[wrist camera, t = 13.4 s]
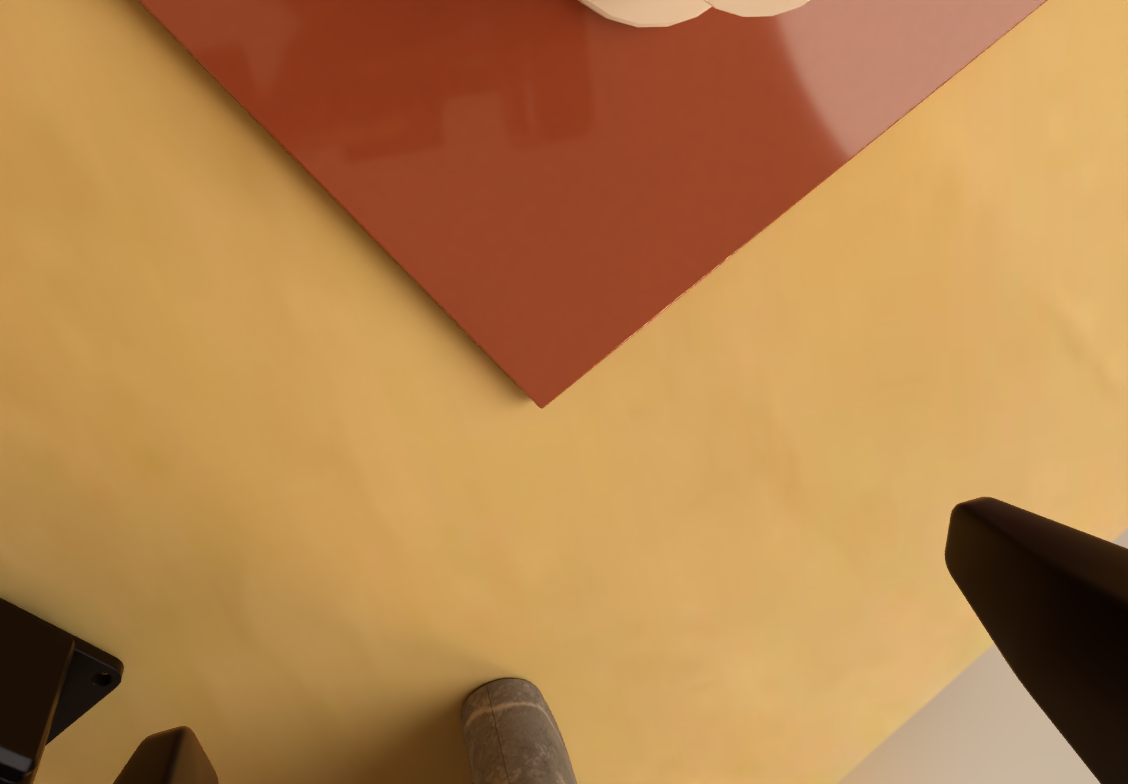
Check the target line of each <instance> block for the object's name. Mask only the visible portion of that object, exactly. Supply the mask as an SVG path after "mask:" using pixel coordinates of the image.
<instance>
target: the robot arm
mask: <svg viewBox="0 0 1128 784" xmlns="http://www.w3.org/2000/svg"><path fill="white" fill-rule="evenodd" d="M945 562H946V565H947V568H948V570H949V572H950V574H951V576H952V578H953V579H954V581H955V582H956V584H957V585H958V587H959V589H960V590H961V592H962V593H963V595H964V596H965V598H966V599H967V601H968V602H969V604H970V606H971V607H972V609H973V610H974V612H975V613H976V615H977V616H978V618H979V620H980V621H981V623H982V624H983V626H984V627H985V629H986V630H987V632H988V633H989V635H990V637H991V638H992V640H993V641H994V643H995V644H996V646H997V647H998V649H999V651H1000V652H1001V654H1002V655H1003V657H1004V658H1005V660H1006V661H1007V663H1008V664H1009V666H1010V667H1011V669H1012V670H1013V672H1014V673H1015V674H1016V676H1017V677H1018V679H1019V680H1020V681H1021V683H1022V684H1023V686H1024V687H1025V688H1026V690H1027V691H1028V692H1029V694H1030V695H1031V696H1032V697H1033V699H1034V700H1035V701H1036V703H1037V704H1038V705H1039V706H1040V708H1041V709H1042V710H1043V711H1044V712H1045V714H1046V715H1047V716H1048V718H1049V719H1050V720H1051V721H1052V723H1053V724H1054V725H1055V726H1056V728H1057V729H1058V730H1059V732H1060V733H1061V734H1062V735H1063V737H1064V738H1065V739H1066V740H1067V742H1068V743H1069V744H1070V745H1071V746H1072V748H1073V749H1074V750H1075V752H1076V753H1077V754H1078V756H1079V757H1080V758H1081V759H1082V760H1083V762H1084V763H1085V764H1086V766H1087V767H1088V768H1089V769H1090V771H1091V772H1092V773H1093V774H1094V776H1095V777H1096V778H1097V779H1098V781H1099V782H1100V783H1101V784H1128V549H1127V548H1124V547H1121V546H1119V545H1116V544H1114V543H1111V542H1108V541H1106V540H1103V539H1100V538H1098V537H1095V536H1092V535H1090V534H1087V533H1085V532H1082V531H1079V530H1077V529H1074V528H1071V527H1069V526H1066V525H1063V524H1061V523H1058V522H1055V521H1053V520H1050V519H1047V518H1045V517H1042V516H1040V515H1037V514H1034V513H1032V512H1029V511H1026V510H1024V509H1021V508H1018V507H1016V506H1013V505H1010V504H1008V503H1005V502H1003V501H1000V500H997V499H994V498H991V497H980V498H976V499H973V500H969V501H966V502H963V503H959V504H957V505H956V506H955V507H954V509H953V510H952V512H951V517H950V523H949V529H948V535H947V541H946V548H945ZM123 669H124V666H123V663H122V662H121V661H120V660H119V659H118V658H116V657H114V656H112V655H110V654H108V653H106V652H104V651H102V650H100V649H99V648H97V647H95V646H93V645H91V644H89V643H87V642H85V641H83V640H81V639H79V638H77V637H75V636H73V635H71V634H69V633H67V632H66V631H64V630H62V629H60V628H58V627H56V626H54V625H52V624H50V623H48V622H46V621H44V620H42V619H40V618H38V617H36V616H34V615H32V614H31V613H29V612H27V611H25V610H23V609H21V608H19V607H17V606H15V605H13V604H11V603H9V602H7V601H5V600H3V599H1V598H0V784H33V782H34V779H35V776H36V773H37V770H38V767H39V763H40V760H41V757H42V754H43V751H44V748H45V745H47V744H48V743H49V742H50V741H52V740H53V739H54V738H55V737H56V736H58V735H59V734H60V733H61V732H63V731H64V730H65V729H66V728H67V727H69V726H70V725H71V724H72V723H73V722H75V721H76V720H77V719H78V718H80V717H81V716H82V715H83V714H84V713H86V712H87V711H88V710H89V709H90V708H92V707H93V706H94V705H95V704H97V703H98V702H99V701H100V700H101V699H103V698H104V697H105V696H106V695H107V694H109V693H110V692H111V691H112V690H114V689H115V688H116V687H117V686H118V685H119V684H120V682H121V678H122V674H123ZM101 672H103V673H107V675H101V674H98V673H101ZM113 784H219V783H218V778H217V775H216V772H215V770H214V768H213V766H212V765H211V763H210V761H209V759H208V757H207V756H206V754H205V752H204V750H203V748H202V747H201V745H200V743H199V741H198V739H197V737H196V736H195V734H194V732H193V731H192V730H191V729H190V728H189V727H186V726H180V727H176V728H173V729H169V730H166V731H162V732H159V733H155V734H152V735H150V736H148V737H147V738H145V739H144V740H143V741H142V742H141V744H140V745H139V746H138V748H137V749H136V751H135V752H134V754H133V755H132V757H131V758H130V760H129V761H128V763H127V764H126V765H125V767H124V768H123V770H122V771H121V773H120V774H119V776H118V777H117V779H116V780H115V782H114V783H113Z"/></svg>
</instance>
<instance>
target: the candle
mask: <svg viewBox="0 0 1128 784" xmlns="http://www.w3.org/2000/svg"><path fill="white" fill-rule="evenodd" d="M578 1H579V2H581V3H582V4H584V5H585V6H587V7H589V8H590V9H592V10H593V11H595V12H596V13H598V14H599V15H601V16H603V17H604V18H607V19H610V20H614V21H617V22H621V23H624V24H628V25H631V26H635V27H668V26H671V25H674V24H677V23H680V22H683V21H686V20H689V19H692V18H695V17H697V16H699V15H700V14H702V13H703V12H705V11H706V10H708V9H709V8H711V7H714V8H715V9H719V10H722V11H725V12H729V13H732V14H735V15H739V16H742V17H760V16H774V15H777V14H780V13H783V12H786V11H789V10H792V9H795V8H798V7H801V6H802V5H804V4H805V3H807V2H808V1H810V0H578Z"/></svg>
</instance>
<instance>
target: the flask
mask: <svg viewBox="0 0 1128 784" xmlns="http://www.w3.org/2000/svg"><path fill="white" fill-rule="evenodd" d="M461 720H462V725H463V730H464V736H465V741H466V746H467V751H468V757H469V762H470V767H471V772H472V778H473V783H474V784H577V781H576V778H575V775H574V772H573V768H572V765H571V762H570V759H569V756H568V753H567V750H566V747H565V744H564V741H563V738H562V736H561V733H560V731H559V728H558V726H557V723H556V721H555V719H554V717H553V715H552V713H551V711H550V709H549V707H548V705H547V703H546V701H545V700H544V698H543V696H542V694H541V692H540V691H539V689H538V688H537V687H536V686H535V685H534V684H532V683H531V682H528V681H526V680H522V679H514V678H508V679H501V680H497V681H493V682H491V683H488V684H486V685H484V686H482V687H480V688H479V689H477V690H476V691H475V692H474V693H472V694H471V695H470V696H469V698H468V699H467V700H466V702H465V703H464V705H463V708H462V710H461Z"/></svg>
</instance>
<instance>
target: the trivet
mask: <svg viewBox="0 0 1128 784" xmlns="http://www.w3.org/2000/svg"><path fill="white" fill-rule="evenodd" d="M138 1H139V2H140V3H141V4H142V5H143V6H144V7H145V8H146V9H147V10H148V11H149V12H150V13H151V14H152V15H153V16H154V17H155V18H156V19H157V20H158V21H159V22H160V23H161V24H162V25H163V26H164V27H165V28H166V29H167V30H168V31H169V32H170V33H171V34H172V35H173V36H174V37H175V38H176V40H177V41H178V42H179V43H180V44H181V45H182V46H183V47H184V48H185V49H186V50H187V51H188V52H189V53H190V54H191V55H192V56H193V57H194V58H195V59H196V60H197V61H198V62H199V63H200V64H201V65H202V66H203V67H204V68H205V69H206V70H207V71H208V72H209V73H210V74H211V75H212V76H213V77H214V78H215V79H216V80H217V81H218V82H219V83H220V84H221V85H222V86H223V87H224V88H225V89H226V90H227V91H228V92H229V93H230V94H231V95H232V96H233V97H234V98H235V99H236V100H237V101H238V102H239V103H240V104H241V105H242V106H243V107H244V108H245V109H246V110H247V111H248V113H249V114H250V115H251V116H252V117H253V118H254V119H255V120H256V121H257V122H258V123H259V124H260V125H261V126H262V127H263V128H264V129H265V130H266V131H267V132H268V133H269V134H270V135H271V136H272V137H273V138H274V139H275V140H276V141H277V142H278V143H279V144H280V145H281V146H282V147H283V148H284V149H285V150H286V151H287V152H288V153H289V154H290V155H291V156H292V157H293V158H294V159H295V160H296V161H297V162H298V163H299V164H300V165H301V166H302V167H303V168H304V169H305V170H306V171H307V172H308V173H309V174H310V175H311V176H312V177H313V178H314V179H315V180H316V181H317V182H318V183H319V184H320V186H321V187H322V188H323V189H324V190H325V191H326V192H327V193H328V194H329V195H330V196H331V197H332V198H333V199H334V200H335V201H336V202H337V203H338V204H339V205H340V206H341V207H342V208H343V209H344V210H345V211H346V212H347V213H348V214H349V215H350V216H351V217H352V218H353V219H354V220H355V221H356V222H357V223H358V224H359V225H360V226H361V227H362V228H363V229H364V230H365V231H366V232H367V233H368V234H369V235H370V236H371V237H372V238H373V239H374V240H375V241H376V242H377V243H378V244H379V245H380V246H381V247H382V248H383V249H384V250H385V251H386V252H387V253H388V254H389V255H390V256H391V257H392V259H393V260H394V261H395V262H396V263H397V264H398V265H399V266H400V267H401V268H402V269H403V270H404V271H405V272H406V273H407V274H408V275H409V276H410V277H411V278H412V279H413V280H414V281H415V282H416V283H417V284H418V285H419V286H420V287H421V288H422V289H423V290H424V291H425V292H426V293H427V294H428V295H429V296H430V297H431V298H432V299H433V300H434V301H435V302H436V303H437V304H438V305H439V306H440V307H441V308H442V309H443V310H444V311H445V312H446V313H447V314H448V315H449V316H450V317H451V318H452V319H453V320H454V321H455V322H456V323H457V324H458V325H459V326H460V327H461V328H462V329H463V330H464V332H465V333H466V334H467V335H468V336H469V337H470V338H471V339H472V340H473V341H474V342H475V343H476V344H477V345H478V346H479V347H480V348H481V349H482V350H483V351H484V352H485V353H486V354H487V355H488V356H489V357H490V358H491V359H492V360H493V361H494V362H495V363H496V364H497V365H498V366H499V367H500V368H501V369H502V370H503V371H504V372H505V373H506V374H507V375H508V376H509V377H510V378H511V379H512V380H513V381H514V382H515V383H516V384H517V385H518V386H519V387H520V388H521V389H522V390H523V391H524V392H525V393H526V394H527V395H528V396H529V397H530V398H531V399H532V400H533V401H534V402H535V403H536V405H537V406H538V407H539V408H544V407H545V406H546V405H548V404H549V403H550V402H551V401H552V400H554V399H555V398H556V397H557V396H559V395H560V394H561V393H562V392H564V391H565V390H566V389H567V388H569V387H570V386H571V385H572V384H573V383H575V382H576V381H577V380H578V379H580V378H581V377H582V376H583V375H585V374H586V373H587V372H588V371H590V370H591V369H592V368H593V367H595V366H596V365H597V364H598V363H599V362H601V361H602V360H603V359H604V358H606V357H607V356H608V355H609V354H611V353H612V352H613V351H614V350H616V349H617V348H618V347H619V346H620V345H622V344H623V343H624V342H625V341H627V340H628V339H629V338H630V337H632V336H633V335H634V334H635V333H637V332H638V331H639V330H640V329H641V328H643V327H644V326H645V325H646V324H648V323H649V322H650V321H651V320H653V319H654V318H655V317H656V316H658V315H659V314H660V313H661V312H663V311H664V310H665V309H666V308H667V307H669V306H670V305H671V304H672V303H674V302H675V301H676V300H677V299H679V298H680V297H681V296H682V295H684V294H685V293H686V292H687V291H688V290H690V289H691V288H692V287H693V286H695V285H696V284H697V283H698V282H700V281H701V280H702V279H703V278H705V277H706V276H707V275H708V274H709V273H711V272H712V271H713V270H714V269H716V268H717V267H718V266H719V265H721V264H722V263H723V262H724V261H726V260H727V259H728V258H729V257H731V256H732V255H733V254H734V253H735V252H737V251H738V250H739V249H740V248H742V247H743V246H744V245H745V244H747V243H748V242H749V241H750V240H752V239H753V238H754V237H755V236H756V235H758V234H759V233H760V232H761V231H763V230H764V229H765V228H766V227H768V226H769V225H770V224H771V223H773V222H774V221H775V220H776V219H777V218H779V217H780V216H781V215H782V214H784V213H785V212H786V211H787V210H789V209H790V208H791V207H792V206H794V205H795V204H796V203H797V202H799V201H800V200H801V199H802V198H803V197H805V196H806V195H807V194H808V193H810V192H811V191H812V190H813V189H815V188H816V187H817V186H818V185H820V184H821V183H822V182H823V181H824V180H826V179H827V178H828V177H829V176H831V175H832V174H833V173H834V172H836V171H837V170H838V169H839V168H841V167H842V166H843V165H844V164H845V163H847V162H848V161H849V160H850V159H852V158H853V157H854V156H855V155H857V154H858V153H859V152H860V151H862V150H863V149H864V148H865V147H867V146H868V145H869V144H870V143H871V142H873V141H874V140H875V139H876V138H878V137H879V136H880V135H881V134H883V133H884V132H885V131H886V130H888V129H889V128H890V127H891V126H892V125H894V124H895V123H896V122H897V121H899V120H900V119H901V118H902V117H904V116H905V115H906V114H907V113H909V112H910V111H911V110H912V109H913V108H915V107H916V106H917V105H918V104H920V103H921V102H922V101H923V100H925V99H926V98H927V97H928V96H930V95H931V94H932V93H933V92H935V91H936V90H937V89H938V88H939V87H941V86H942V85H943V84H944V83H946V82H947V81H948V80H949V79H951V78H952V77H953V76H954V75H956V74H957V73H958V72H959V71H960V70H962V69H963V68H964V67H965V66H967V65H968V64H969V63H970V62H972V61H973V60H974V59H975V58H977V57H978V56H979V55H980V54H981V53H983V52H984V51H985V50H986V49H988V48H989V47H990V46H991V45H993V44H994V43H995V42H996V41H998V40H999V39H1000V38H1001V37H1003V36H1004V35H1005V34H1006V33H1007V32H1009V31H1010V30H1011V29H1012V28H1014V27H1015V26H1016V25H1017V24H1019V23H1020V22H1021V21H1022V20H1024V19H1025V18H1026V17H1027V16H1028V15H1030V14H1031V13H1032V12H1033V11H1035V10H1036V9H1037V8H1038V7H1040V6H1041V5H1042V4H1043V3H1045V2H1046V1H1047V0H810V1H808V2H807V3H805V4H804V5H802V6H801V7H798V8H795V9H792V10H789V11H786V12H783V13H780V14H777V15H774V16H760V17H742V16H739V15H735V14H732V13H729V12H725V11H722V10H719V9H715V8H714V7H711V8H709V9H708V10H706V11H705V12H703V13H702V14H700V15H699V16H697V17H695V18H692V19H689V20H686V21H683V22H680V23H677V24H674V25H671V26H668V27H635V26H631V25H628V24H624V23H621V22H617V21H614V20H610V19H607V18H604V17H603V16H601V15H599V14H598V13H596V12H595V11H593V10H592V9H590V8H589V7H587V6H585V5H584V4H582V3H581V2H579V1H578V0H138Z"/></svg>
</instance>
